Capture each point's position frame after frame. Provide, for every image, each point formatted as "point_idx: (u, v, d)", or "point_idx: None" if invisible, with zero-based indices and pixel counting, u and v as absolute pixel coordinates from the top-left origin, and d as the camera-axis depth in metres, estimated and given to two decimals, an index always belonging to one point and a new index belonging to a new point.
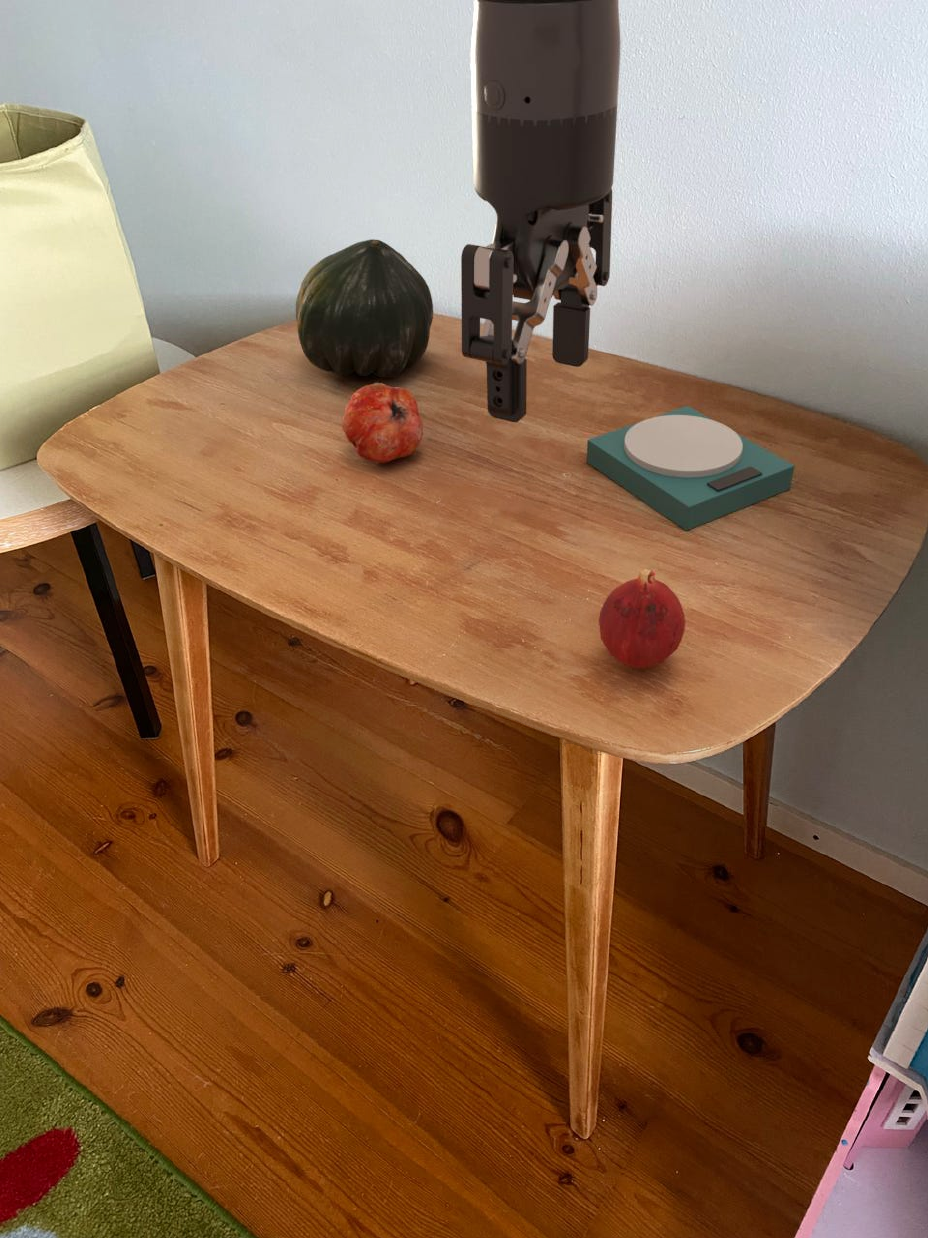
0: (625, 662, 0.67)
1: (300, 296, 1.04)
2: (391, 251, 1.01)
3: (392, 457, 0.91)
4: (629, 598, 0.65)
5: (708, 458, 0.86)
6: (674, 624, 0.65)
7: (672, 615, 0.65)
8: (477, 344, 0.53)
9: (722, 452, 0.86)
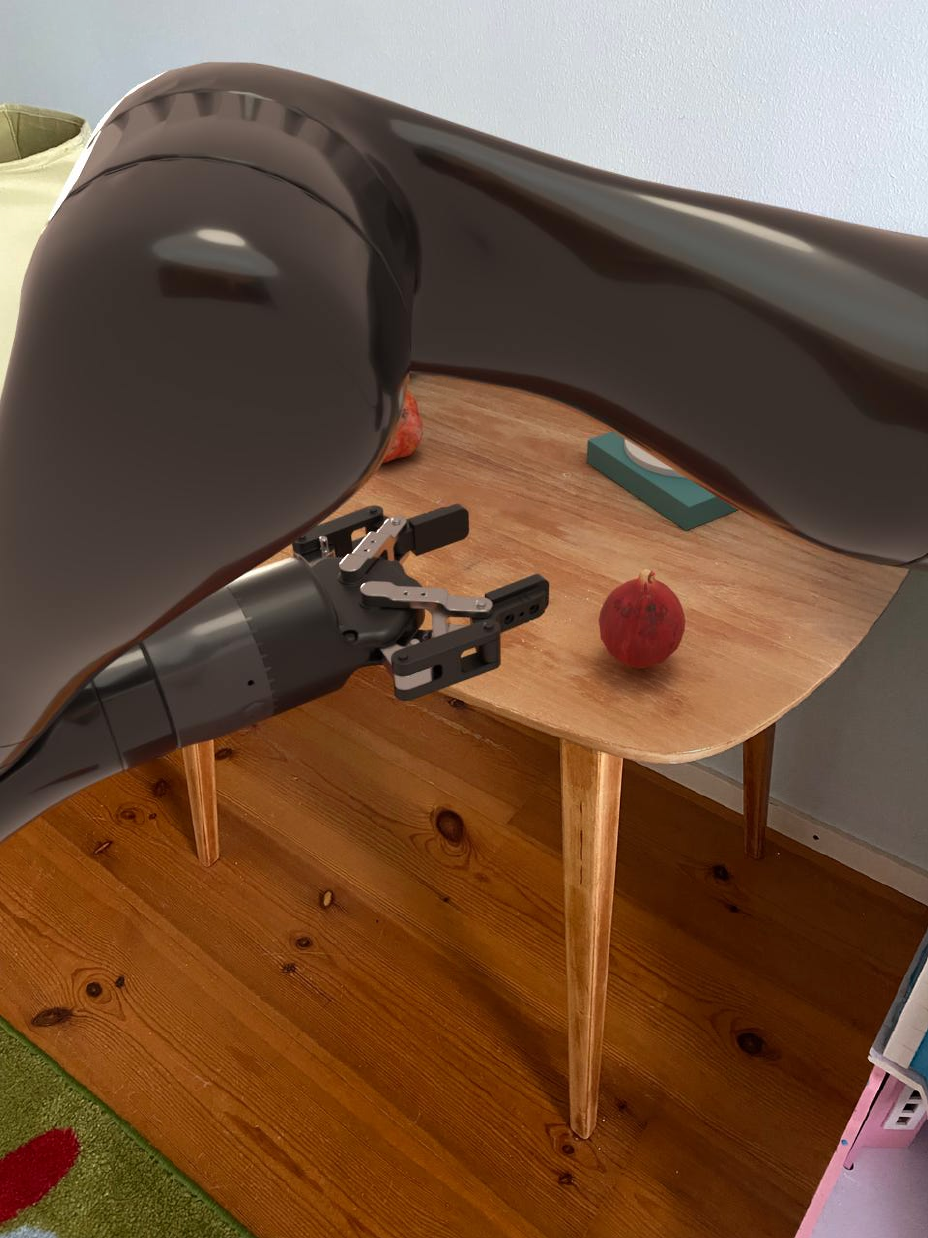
0: (625, 662, 0.67)
1: None
2: None
3: (392, 457, 0.91)
4: (629, 598, 0.65)
5: None
6: (674, 624, 0.65)
7: (672, 615, 0.65)
8: (486, 657, 0.50)
9: None
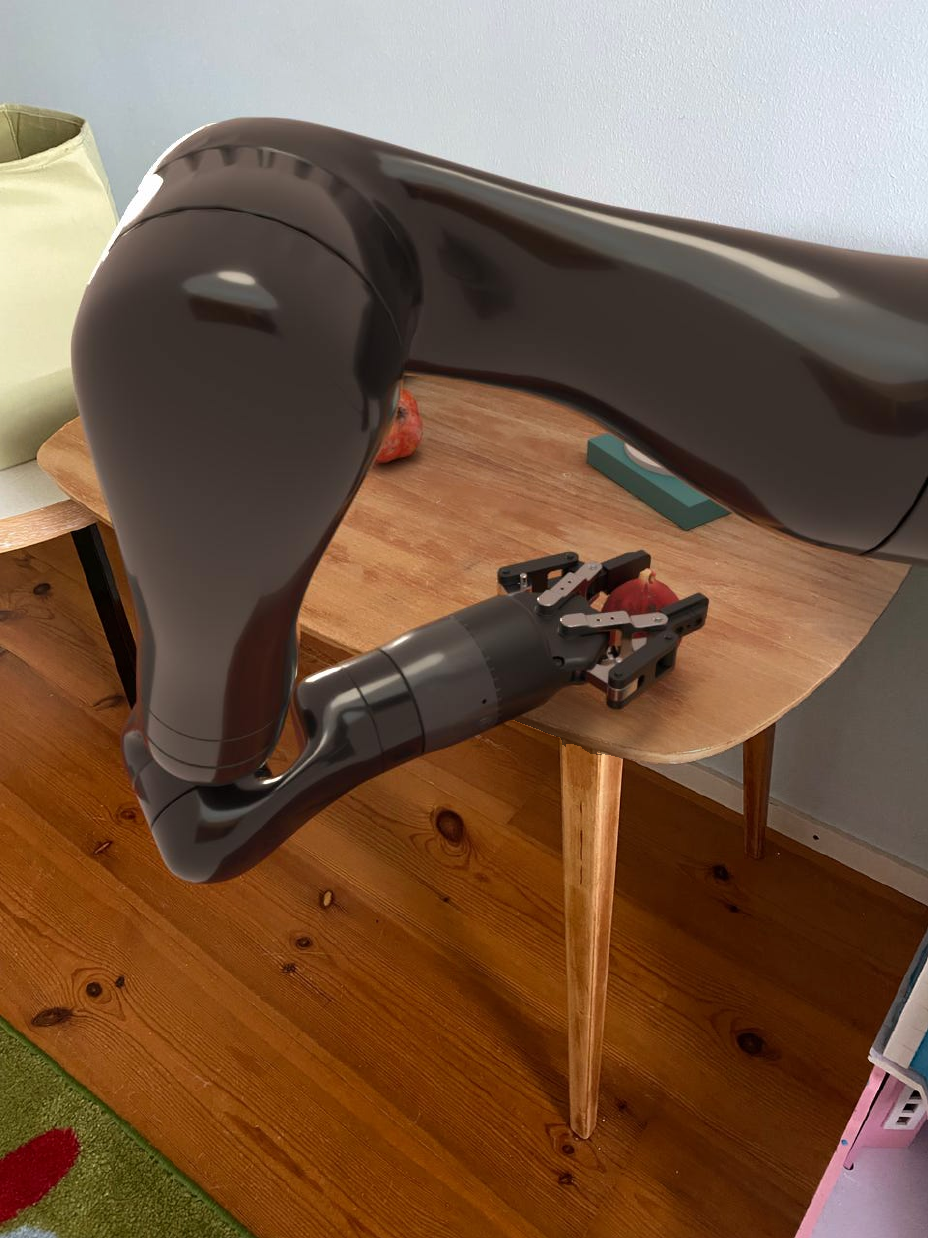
0: None
1: None
2: None
3: (392, 457, 0.91)
4: (629, 598, 0.65)
5: None
6: None
7: None
8: (666, 661, 0.61)
9: None
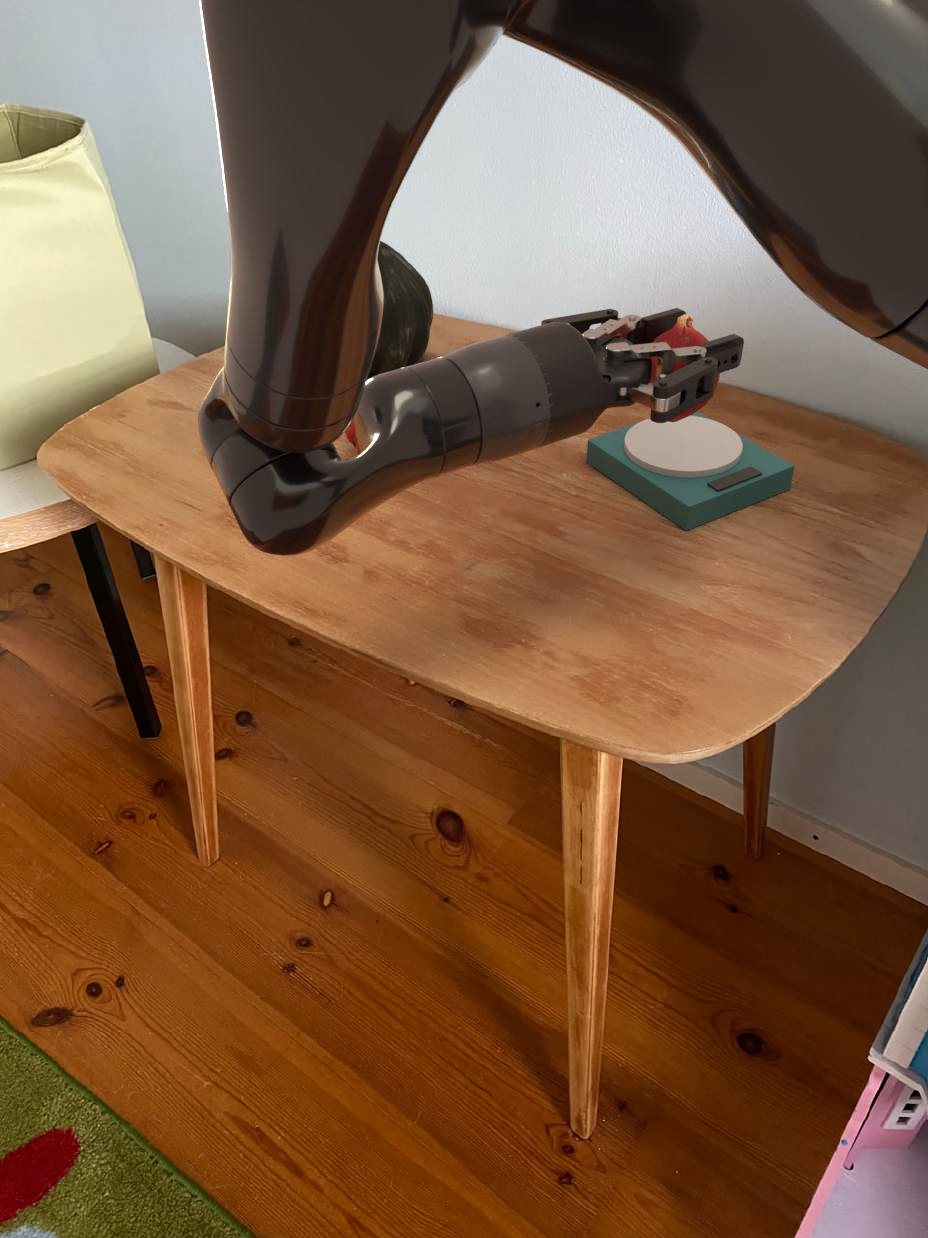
0: None
1: None
2: (391, 251, 1.01)
3: None
4: (668, 342, 0.68)
5: (708, 458, 0.86)
6: None
7: None
8: (705, 386, 0.65)
9: (722, 452, 0.86)
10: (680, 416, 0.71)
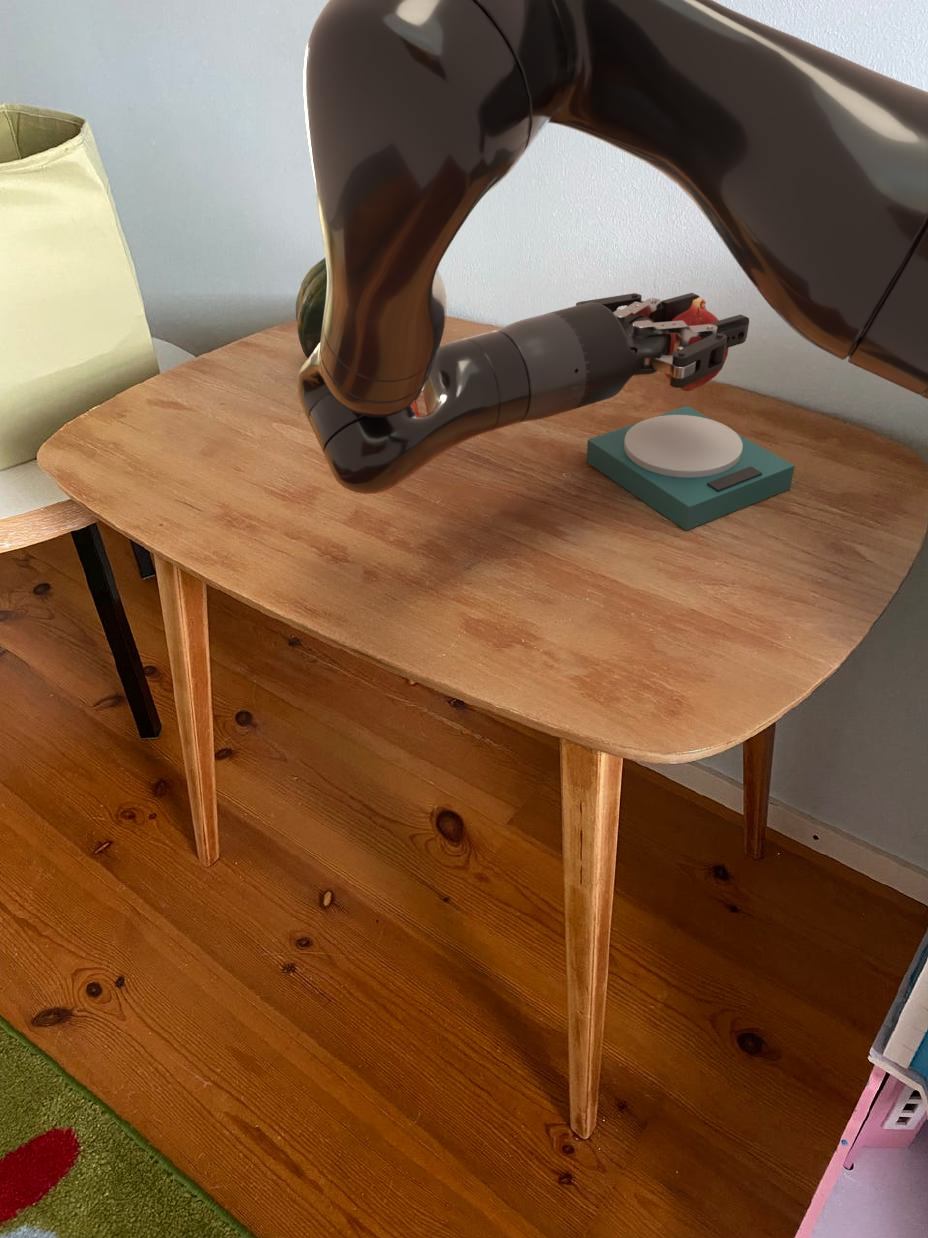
0: None
1: (300, 296, 1.04)
2: None
3: None
4: (684, 321, 0.80)
5: (708, 458, 0.86)
6: None
7: None
8: (716, 357, 0.77)
9: (722, 452, 0.86)
10: (694, 385, 0.83)
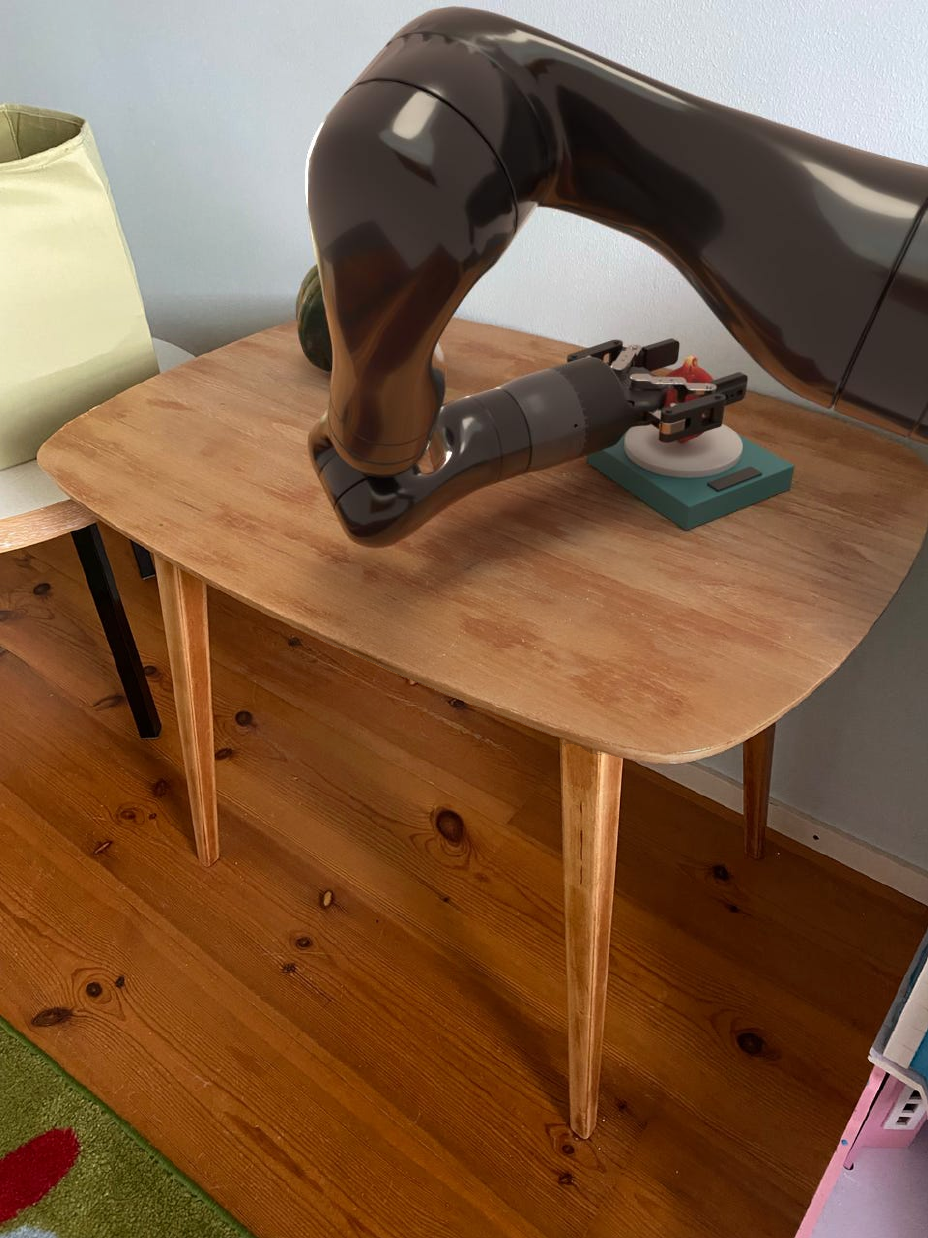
0: None
1: (300, 296, 1.04)
2: None
3: None
4: None
5: (708, 458, 0.86)
6: None
7: None
8: (715, 417, 0.78)
9: (722, 452, 0.86)
10: (688, 438, 0.86)
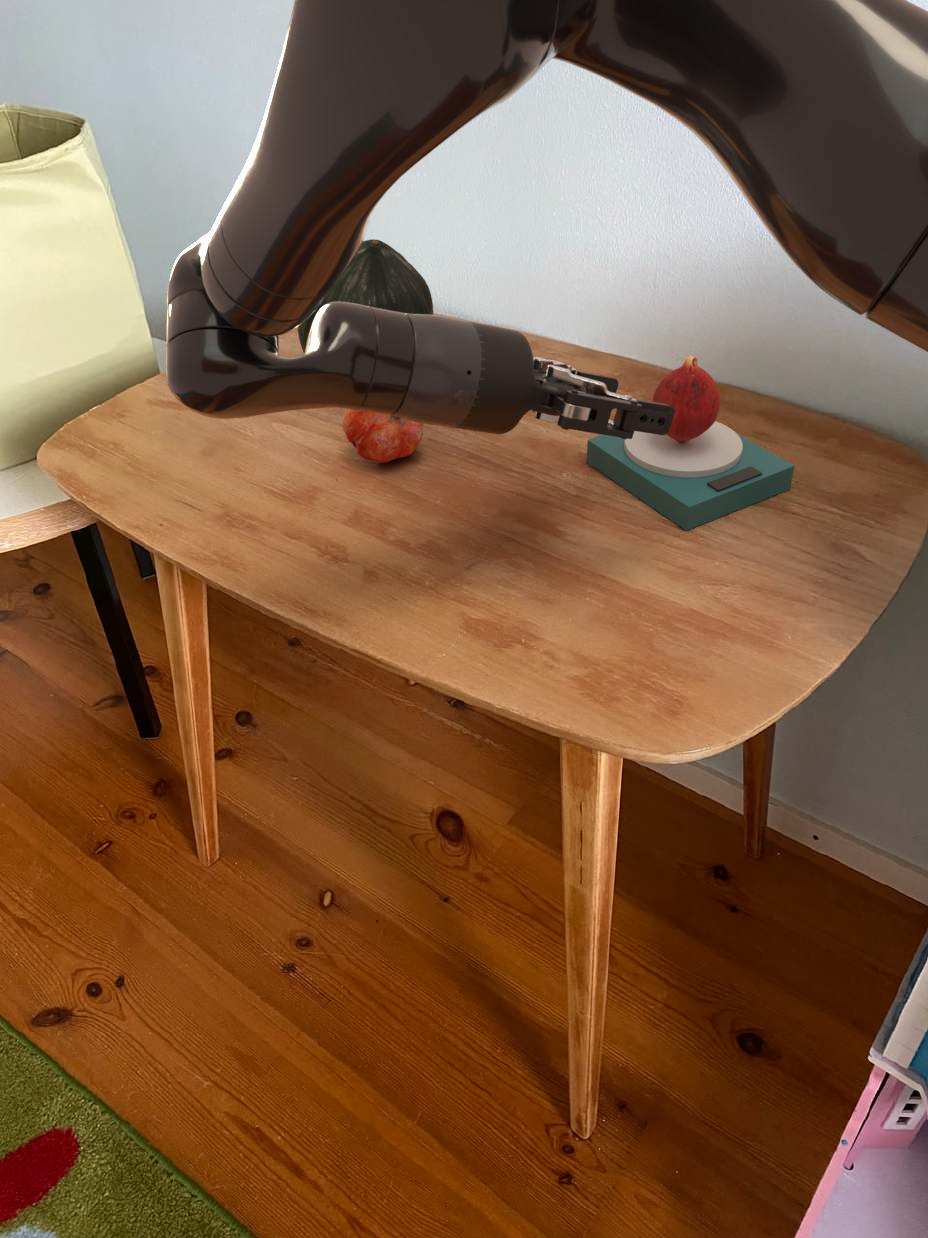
0: (673, 433, 0.85)
1: None
2: (391, 251, 1.01)
3: (392, 457, 0.91)
4: (677, 378, 0.83)
5: (708, 458, 0.86)
6: (712, 399, 0.84)
7: (711, 391, 0.84)
8: (626, 425, 0.70)
9: (722, 452, 0.86)
10: (688, 438, 0.86)
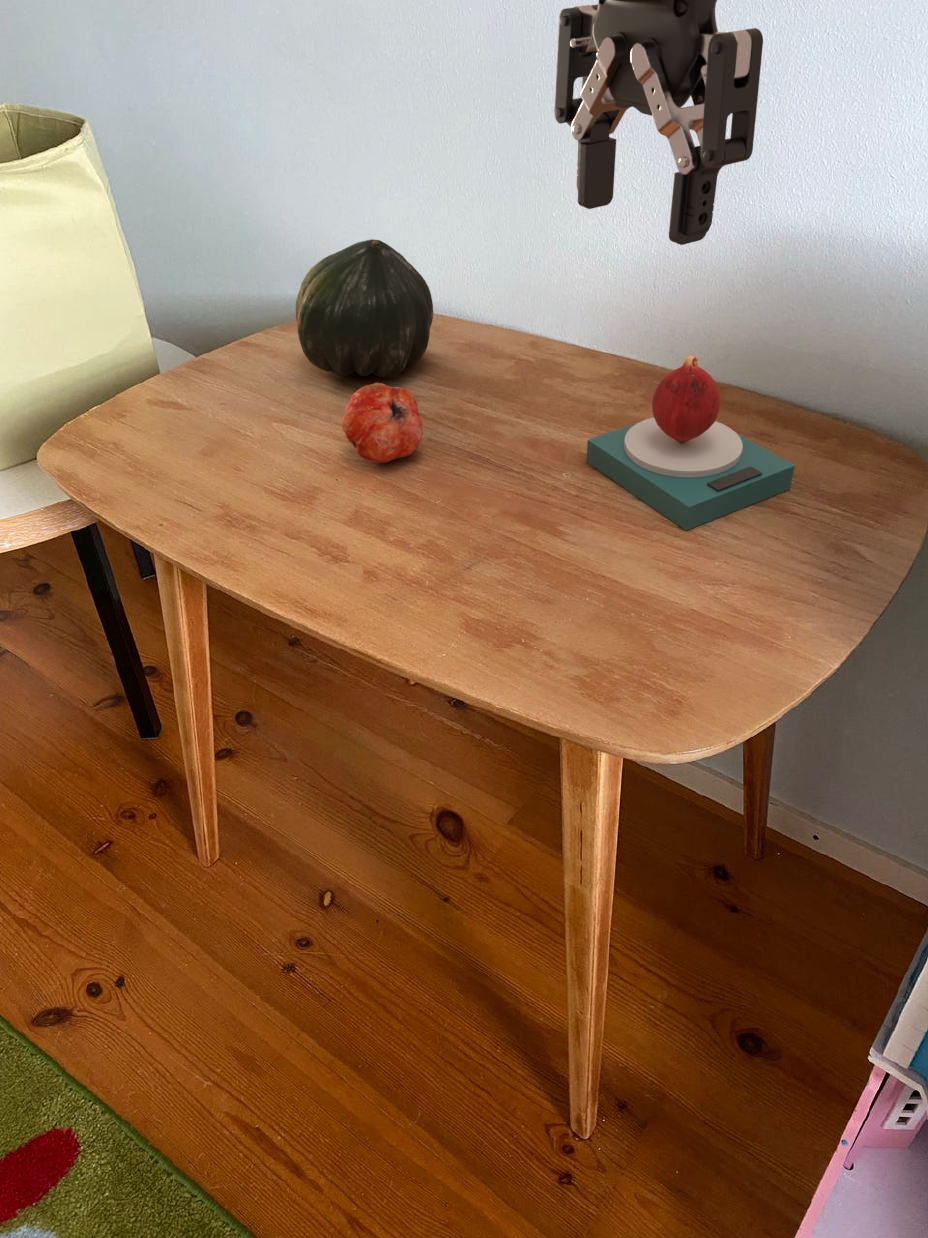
0: (673, 433, 0.85)
1: (300, 296, 1.04)
2: (391, 251, 1.01)
3: (392, 457, 0.91)
4: (677, 378, 0.83)
5: (708, 458, 0.86)
6: (712, 399, 0.84)
7: (711, 391, 0.84)
8: (729, 145, 0.50)
9: (722, 452, 0.86)
10: (688, 438, 0.86)
